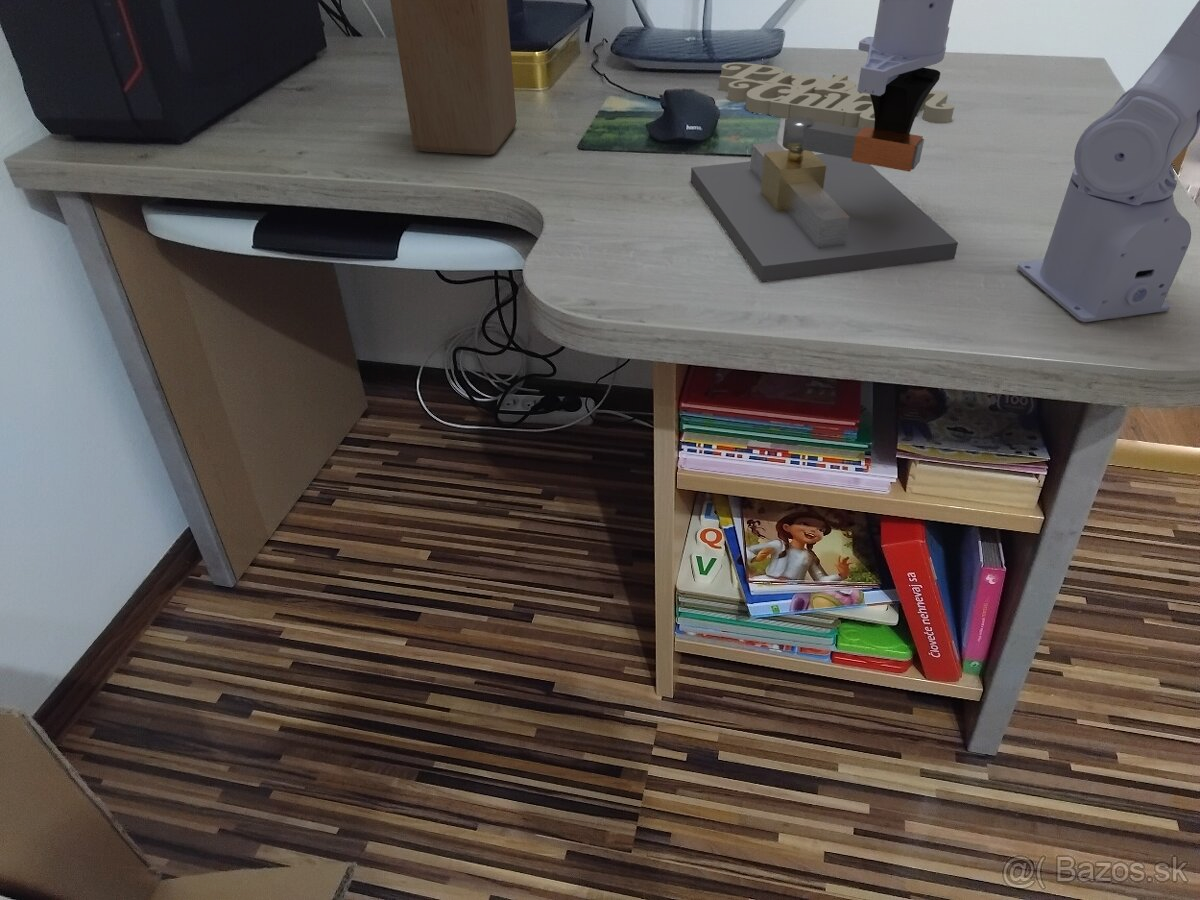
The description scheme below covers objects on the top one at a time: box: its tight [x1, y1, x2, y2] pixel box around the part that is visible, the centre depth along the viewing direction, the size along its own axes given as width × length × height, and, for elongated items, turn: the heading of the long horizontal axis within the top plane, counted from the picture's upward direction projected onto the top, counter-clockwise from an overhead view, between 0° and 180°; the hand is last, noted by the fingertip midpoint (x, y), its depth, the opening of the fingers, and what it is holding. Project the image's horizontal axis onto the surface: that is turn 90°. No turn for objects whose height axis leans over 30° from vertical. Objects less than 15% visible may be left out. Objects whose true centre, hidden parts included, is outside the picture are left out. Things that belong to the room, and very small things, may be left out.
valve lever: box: [782, 117, 925, 172], centre depth 79 cm, size 12×3×2 cm, turn 60°
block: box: [389, 0, 517, 156], centre depth 97 cm, size 10×10×20 cm
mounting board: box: [690, 153, 959, 283], centre depth 85 cm, size 22×18×2 cm
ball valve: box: [750, 141, 850, 248], centre depth 83 cm, size 18×4×5 cm, turn 11°
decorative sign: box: [718, 62, 955, 129], centre depth 109 cm, size 31×2×15 cm
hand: (887, 154), depth 79 cm, fingers closed, pressing on valve lever
